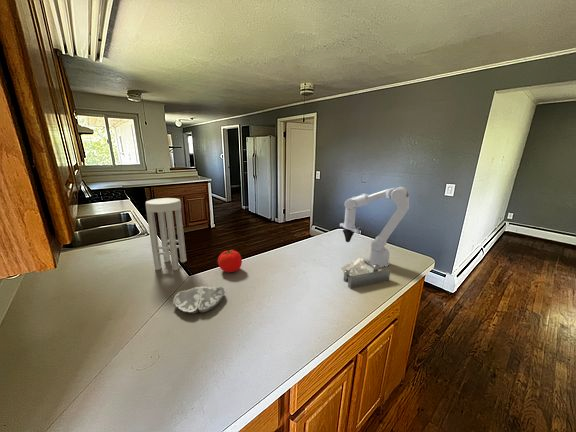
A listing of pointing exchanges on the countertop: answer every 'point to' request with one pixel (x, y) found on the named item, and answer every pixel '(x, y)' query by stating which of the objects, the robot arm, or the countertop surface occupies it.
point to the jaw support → (356, 267)
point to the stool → (168, 207)
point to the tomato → (230, 261)
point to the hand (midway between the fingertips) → (347, 241)
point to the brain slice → (198, 299)
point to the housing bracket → (366, 277)
